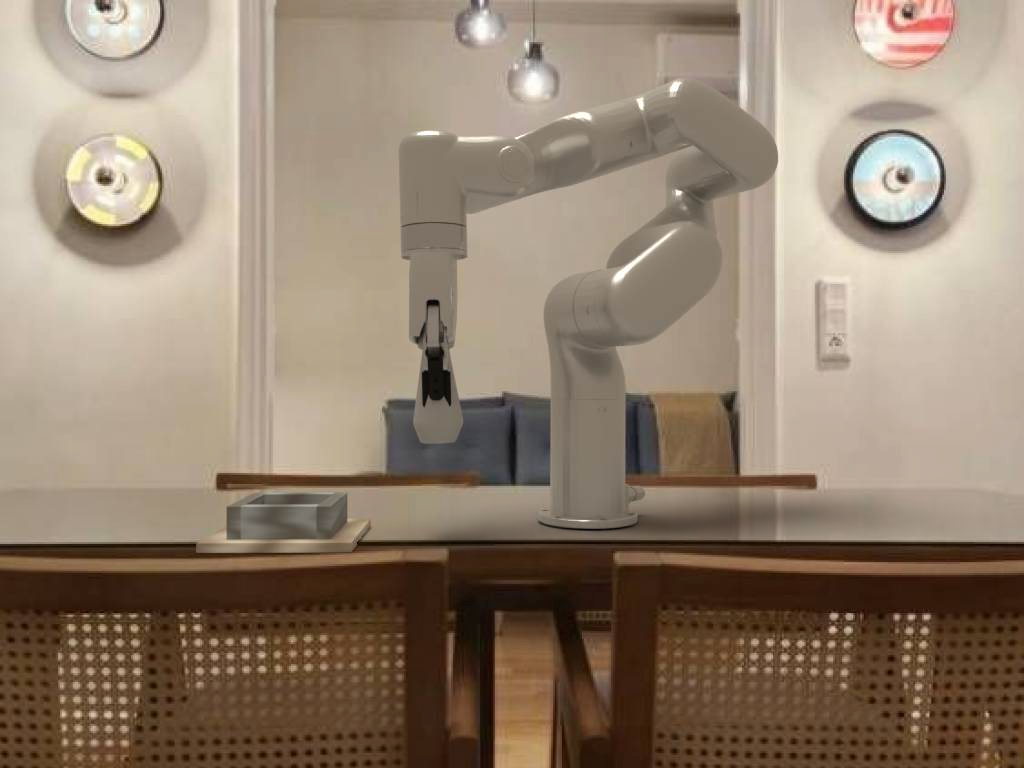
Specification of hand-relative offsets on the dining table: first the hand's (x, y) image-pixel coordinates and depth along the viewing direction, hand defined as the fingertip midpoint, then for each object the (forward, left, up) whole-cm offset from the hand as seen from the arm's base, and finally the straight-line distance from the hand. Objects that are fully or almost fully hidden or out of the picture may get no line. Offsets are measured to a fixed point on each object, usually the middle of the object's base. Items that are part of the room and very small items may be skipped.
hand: (437, 404), depth 96 cm
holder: (+12, -11, -15) cm, 23 cm away
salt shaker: (0, 0, -5) cm, 5 cm away
